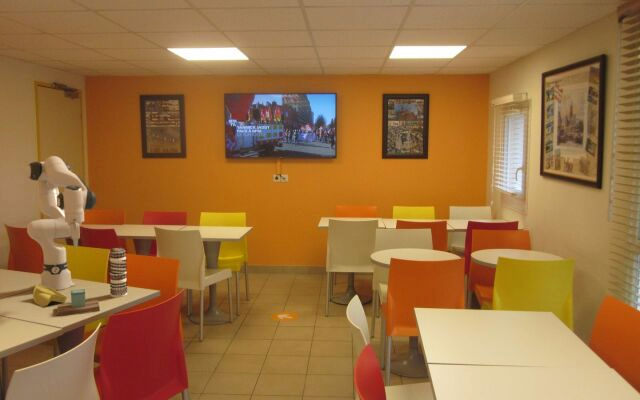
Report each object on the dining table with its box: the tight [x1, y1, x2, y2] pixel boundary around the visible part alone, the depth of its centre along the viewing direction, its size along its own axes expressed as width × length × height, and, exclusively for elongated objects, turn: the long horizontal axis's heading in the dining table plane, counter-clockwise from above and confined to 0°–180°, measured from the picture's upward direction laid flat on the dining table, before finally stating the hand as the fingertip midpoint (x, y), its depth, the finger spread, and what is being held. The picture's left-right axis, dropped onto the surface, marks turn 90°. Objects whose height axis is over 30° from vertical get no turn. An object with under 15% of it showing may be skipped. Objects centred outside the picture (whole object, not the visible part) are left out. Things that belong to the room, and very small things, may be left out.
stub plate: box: [56, 299, 100, 317], centre depth 243 cm, size 13×18×7 cm
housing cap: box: [70, 288, 86, 308], centre depth 243 cm, size 6×6×7 cm
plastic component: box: [32, 284, 68, 308], centre depth 256 cm, size 20×7×10 cm
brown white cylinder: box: [108, 247, 128, 298], centre depth 267 cm, size 9×9×25 cm
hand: (75, 245), depth 252 cm, fingers open, 8 cm apart
